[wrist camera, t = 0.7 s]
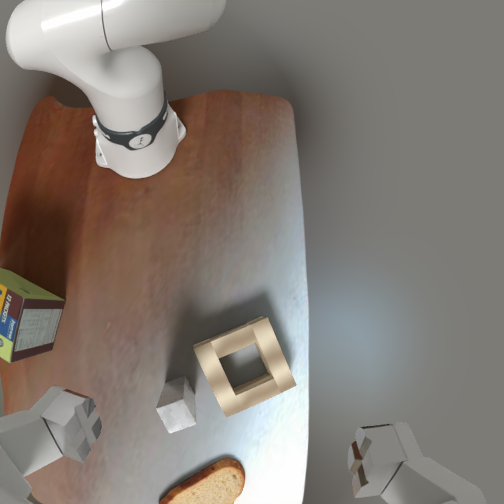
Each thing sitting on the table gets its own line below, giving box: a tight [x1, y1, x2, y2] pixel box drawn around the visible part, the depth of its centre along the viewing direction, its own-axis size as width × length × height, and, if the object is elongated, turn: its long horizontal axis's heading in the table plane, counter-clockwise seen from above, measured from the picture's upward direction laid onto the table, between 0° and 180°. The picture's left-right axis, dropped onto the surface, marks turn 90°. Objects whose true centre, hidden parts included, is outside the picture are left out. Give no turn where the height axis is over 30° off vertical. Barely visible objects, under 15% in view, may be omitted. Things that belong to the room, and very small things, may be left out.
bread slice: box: [159, 458, 245, 504], centre depth 43 cm, size 18×18×4 cm
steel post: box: [156, 375, 196, 433], centre depth 41 cm, size 4×4×14 cm
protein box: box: [0, 268, 65, 363], centre depth 37 cm, size 10×15×16 cm
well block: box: [193, 316, 296, 417], centre depth 49 cm, size 13×13×4 cm
